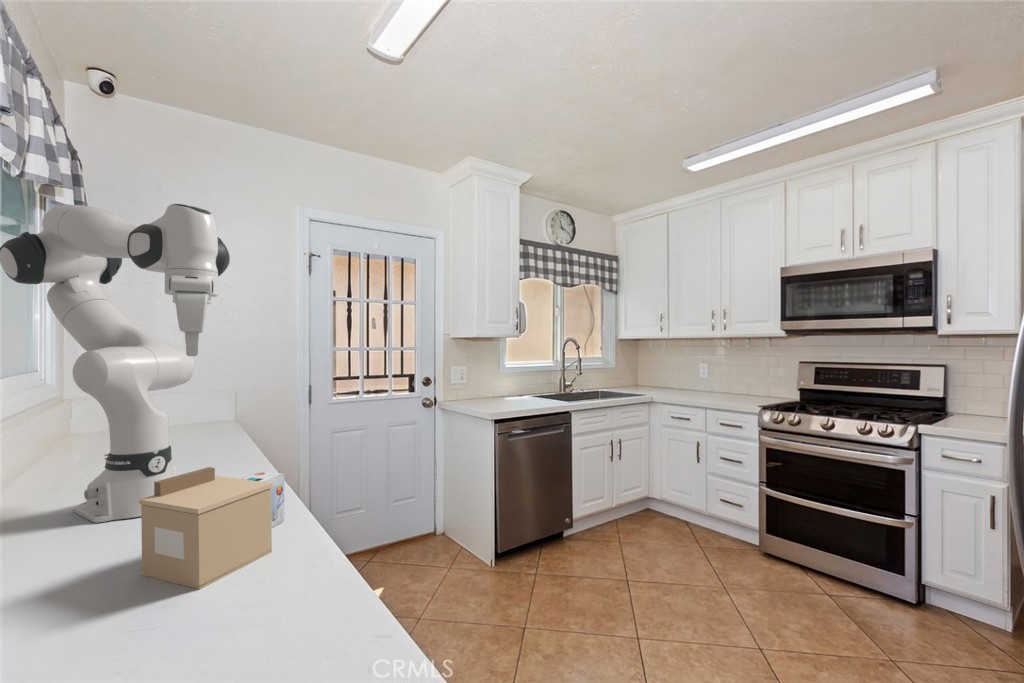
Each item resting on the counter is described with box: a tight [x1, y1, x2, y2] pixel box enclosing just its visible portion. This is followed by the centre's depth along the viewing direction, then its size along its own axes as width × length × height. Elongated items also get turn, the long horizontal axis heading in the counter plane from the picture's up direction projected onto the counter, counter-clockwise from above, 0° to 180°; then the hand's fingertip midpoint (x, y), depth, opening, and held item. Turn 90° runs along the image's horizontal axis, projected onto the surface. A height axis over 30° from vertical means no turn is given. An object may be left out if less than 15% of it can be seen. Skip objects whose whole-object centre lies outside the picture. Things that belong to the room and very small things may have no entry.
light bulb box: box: [241, 471, 285, 529], centre depth 99 cm, size 11×7×11 cm, turn 168°
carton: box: [140, 488, 273, 590], centre depth 84 cm, size 14×14×12 cm
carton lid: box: [139, 466, 273, 514], centre depth 84 cm, size 14×14×3 cm
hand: (192, 355), depth 93 cm, fingers open, 8 cm apart
